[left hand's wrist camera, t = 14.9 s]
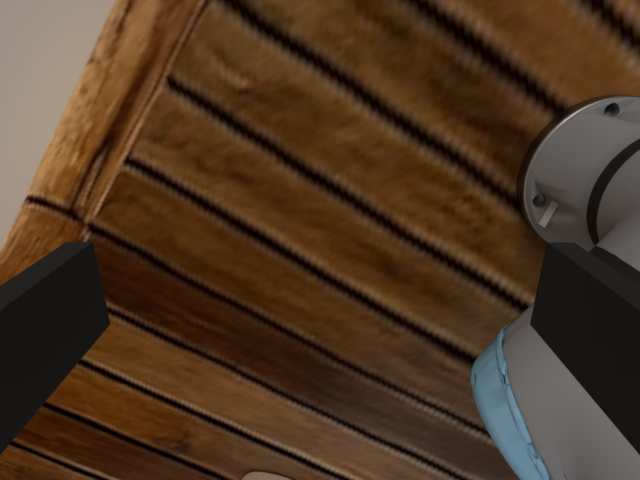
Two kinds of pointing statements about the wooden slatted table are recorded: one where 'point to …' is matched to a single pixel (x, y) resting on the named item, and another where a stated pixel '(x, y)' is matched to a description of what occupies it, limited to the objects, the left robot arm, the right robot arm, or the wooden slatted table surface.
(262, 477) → the anatomical model
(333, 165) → the wooden slatted table surface
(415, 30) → the wooden slatted table surface
